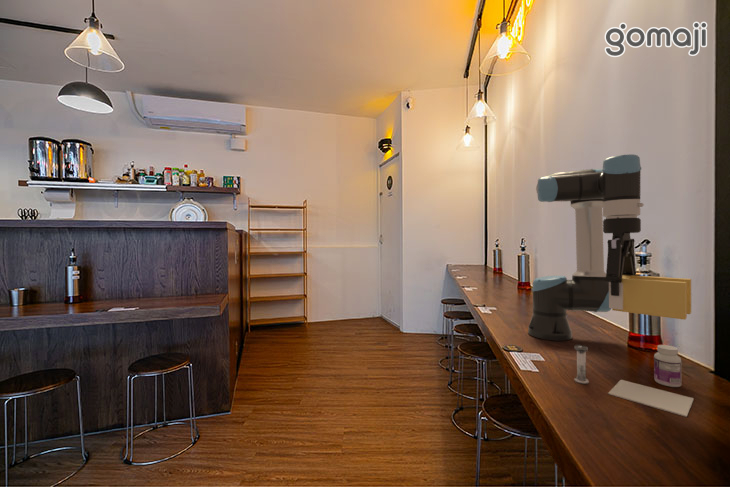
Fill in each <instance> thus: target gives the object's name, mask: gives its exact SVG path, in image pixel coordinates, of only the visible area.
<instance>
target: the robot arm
mask: <svg viewBox="0 0 730 487" xmlns="http://www.w3.org/2000/svg"><path fill="white" fill-rule="evenodd" d="M641 170H642V166H641V158H640V156H638V155H637V154H634V153H633V154H631V153H630V154H628V153H627V154H619V155H614V156H610V157H607V158H605V159H604V160H603V163H602V168H596V169H595V168H590V169H582V170H581V169H580V170H572V171H570V170H569V171H561V172H560V171H559V172H555V173H552V174H548V175H546V176H543V177H540V178H538V179H537V184H536V188H535V190H536V194H537V201H538V202H540V203H541V202H543V203H545V202H547V203H552V202H570V208H571V207H572V209H574V210H575V212H574V214H575V245H576V246H575V247H576V248H575V250H576V252H575V254H576V256H575V257H576V271H575V272H574V273H573V274H572V276H571V277H572V279H567V276H565V275H548V276H545V275H544V276H540V277H536V278H534V279H533V281H532V289H531V291H532V315H531V319H530V321H529V324H528V327H527V329H528V330H527V331H528V332H527V333H528V335H530V336H532V337H534V338H537V339H542V340H547V341H555V342H556V341H559V342H560V341H561V342H562V341H569V340H571V339H573V331H572V328H571V325H570V323H569V320H568V317H567V311H575V312H576V311H580V312H590V313H591V312H593V313H608V312H610V311H611V310H612V308H613V309H620V310H623V283H622V275H635V276H639V275H638V274H637V270H636V257H635V256H636V255H635V242H636V241H635V238H631V234H637V233H640V232H641V230H642V221H641V219H640V218H641V217H638V216H640V215H641V208H642V207H644V205H645V204H644V203H643V202H641ZM603 217H604V219H603ZM604 234H612V237H611V239H608V240H607V257H606V272H605V260H604V259H605V258H604V256H605V255H604Z"/></svg>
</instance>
